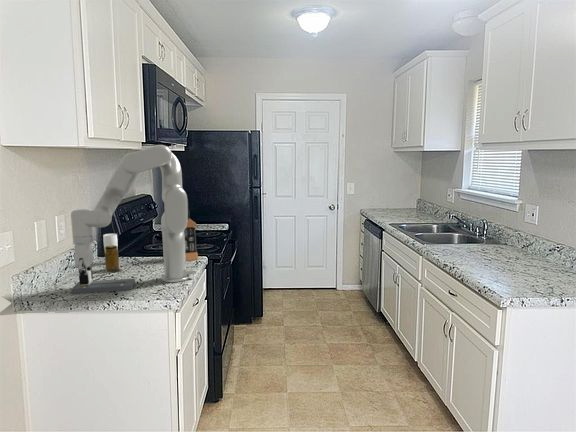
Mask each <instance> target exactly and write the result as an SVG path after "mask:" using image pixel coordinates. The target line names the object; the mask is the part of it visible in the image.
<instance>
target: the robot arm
mask: <svg viewBox="0 0 576 432" xmlns="http://www.w3.org/2000/svg"><path fill="white" fill-rule="evenodd" d="M181 166H182V165H181V163H180V161H179V159H178V158H177V156H176V155H175V154H174V153H173V152H172V151H171V149H170V148H169V147H168V146H166V145H164V144H157V145H154V146H151V147H148V148H145V149H141V150H137V151H133V152H128V153H126V154H124V155H123V157H122V158H121V160H120V162H119V164H118V165H117V168H116V169H115V171H114V173H113V175H112V176H111V178H110V180H109V181H108V183H107V184H106V187H105V189H104V192H103V194H102V195H101V197H100V199H99V200H98V202H97V204H96V205H95V208H94V210H91V209H90V210H89V209H86V208H85V209H84V208H83V209H82V208H81V209H80V208H79V209H75V210H72V211H71V212H70V220H71V221H70V222H71V231H72V233H71V234H72V245H74V250H73V252H74V253H73V254H74V268H75V269H76V270H78V279H79V281H78V282H80V285H83V284H88V274H87V271H90V270H91V278H92V280H93V278H94V276H93V265H92V264H93V262H94V255H93V254H94V253H93V246H92V245H93V243H94V232H93V231H94V230H93V228H94V227H95V228H105V227H107V226H109V225H110V224H111V223H112V220H113V219H112V217H113V215H114V214H115V212H116V210H117V207H118V206H119V204H120V203H121V201H122V200H123V199H124V198H125V197H126V196H127V195H128V193H129V192H130V191H131V188H132V186H133V185H134V184H135V183H134V182H135V181H136V179H137V178H138V176H139V174H140V173H142V172H147V171H150V170H153V169H157V168H160V173H161V181H162V182H161V199H162V202H163V203H164V211H163V213H162V216H161V219H160V226H161V235H162V251H163V253H162V254H163V273H164V274H163V275H161V276H160V280H161V282H165V283H179V282H184V281H187V280H189V279H190V277H191V276H190V275H196V274H197V270H196V269H193V268H191V269H189V268H188V267H187V265H186V260H185V236H184V230H185V229H186V227H187V222H188V209H189V206H188V205H189V203H188V204H187V200H188V195H187V192H186V191H185V190H184V188H183V173H182V171H183V170H182V167H181Z"/></svg>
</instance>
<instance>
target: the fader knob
mask: <svg viewBox="0 0 576 432" xmlns="http://www.w3.org/2000/svg"><path fill="white" fill-rule="evenodd" d="M87 274H88V284H83V285H90V283H91V282H92V281H93V279H92V278H91V270H90V271H87ZM81 286H82V285H81Z"/></svg>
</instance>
